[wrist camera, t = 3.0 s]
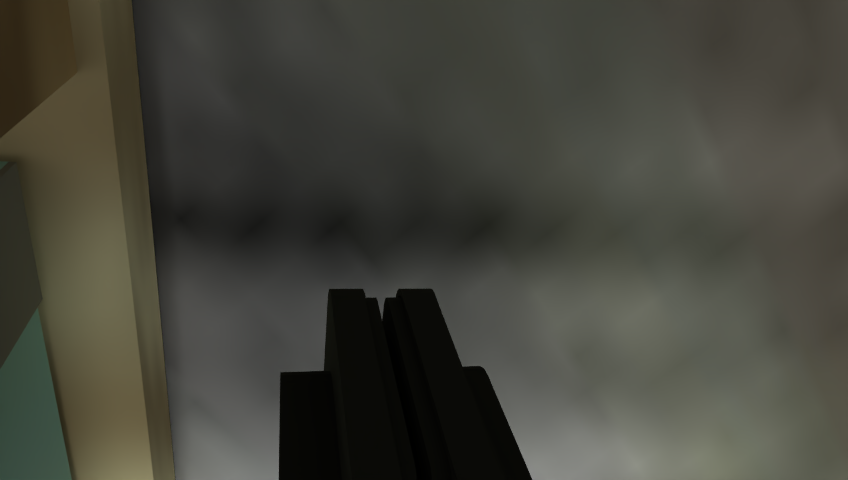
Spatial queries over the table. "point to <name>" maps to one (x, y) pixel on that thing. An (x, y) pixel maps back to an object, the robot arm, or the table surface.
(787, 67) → the table surface
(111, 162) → the seat
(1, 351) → the leg
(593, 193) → the table surface
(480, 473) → the robot arm
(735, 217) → the table surface
